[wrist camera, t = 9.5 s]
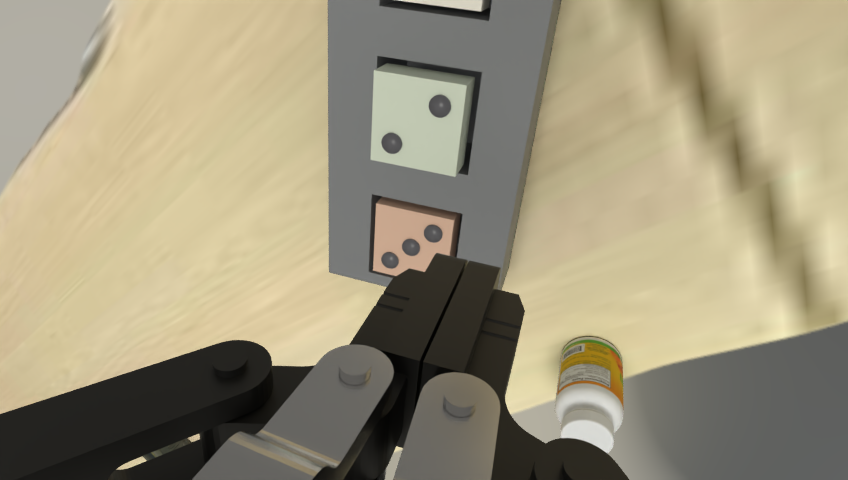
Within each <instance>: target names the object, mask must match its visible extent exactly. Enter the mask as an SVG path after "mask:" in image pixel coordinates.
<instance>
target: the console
mask: <svg viewBox="0 0 848 480" xmlns="http://www.w3.org/2000/svg"><path fill="white" fill-rule="evenodd" d="M560 4H561V0H490V3H489V8H487V9H485V10H483V11H473V10H466V9H458V8H451V7H443V6H436V5H428V4H421V3H413V2H406V1H398V0H328V143H329V272H330V273H334V274H338V275H342V276H346V277H350V278H354V279H358V280H361V281H365V282H369V283H373V284H377V285H381V286H385V287H387V286H388V285H389V283H390V282H391V280H392V279H393V278H394V277H395V276H394V275H389V274H385V273H381V272H377V271H373V261H374V239H375V216H376V203H377V202H378V201H379V200H380V198H381V197H387V198H392V199H396V200H401V201H406V202H410V203H415V204H419V205H424V206H429V207H433V208H438V209H443V210H447V211H452V212H456V213H461V217H460V224H459V231H458V239H457V246H456V254H455V257H457V258H461V259H466V260H468V262H469V261H475V262H479V263H483V264H487V265H492V266H496V267H500V268H501V272H500V278H499V284H498V289H497V290H502V287H503V284H504V280H505V277H506V274H507V271H508V268H509V263H510V258H511V252H512V247H513V242H514V237H515V232H516V227H517V222H518V217H519V212H520V207H521V202H522V197H523V192H524V186H525V181H526V176H527V171H528V166H529V161H530V156H531V151H532V146H533V141H534V136H535V131H536V126H537V120H538V115H539V110H540V105H541V100H542V95H543V90H544V85H545V80H546V75H547V70H548V65H549V60H550V54H551V49H552V44H553V39H554V34H555V29H556V24H557V19H558V14H559V9H560ZM386 63H391V64H397V65H403V66H409V67H416V68H422V69H428V70H434V71H441V72H447V73H453V74H459V75H466V76H472V77H475V83H474V91H473V98H472V106H471V113H470V121H469V129H468V136H467V144H466V151H465V159H464V165H463V166H462V168H461V169H460V171H459V172H458V174H457V175H456V177H454V176H449V175H444V174H439V173H434V172H429V171H424V170H419V169H414V168H409V167H404V166H399V165H394V164H389V163H384V162H379V161H374V160H371V133H372V107H373V80H374V70H375V69H377V68H379V67H381V66H383V65H384V64H386Z"/></svg>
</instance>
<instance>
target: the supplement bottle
mask: <svg viewBox="0 0 848 480" xmlns="http://www.w3.org/2000/svg"><path fill="white" fill-rule="evenodd" d="M555 413H556V416H557V419H558V420H559V422H560V424H561V434H560V436H561V438H574V439H579V440H583V441H586V442H589V443H591V444H593V445H595V446H597V447H599V448H600V449H602V450H603V451H605V452H606V453H608V452H609V451H610V450H611V449H612V447H613V444H614V432H616V431H617V430H618V428H619V427H620V426H621V423H622V421H623V366H622V358H621V355H620V353H619V352H618V350H617V349H616V348H615V347H614V346H613V345H612V344H610V343H609V342H607V341H605V340H603V339H600V338H596V337H582V338H578V339H575V340H573V341H571V342H570V343H568V344H567V345H566V346H565V348H564V349H563V352H562V355H561V360H560V368H559V377H558V385H557V393H556V401H555Z"/></svg>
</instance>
